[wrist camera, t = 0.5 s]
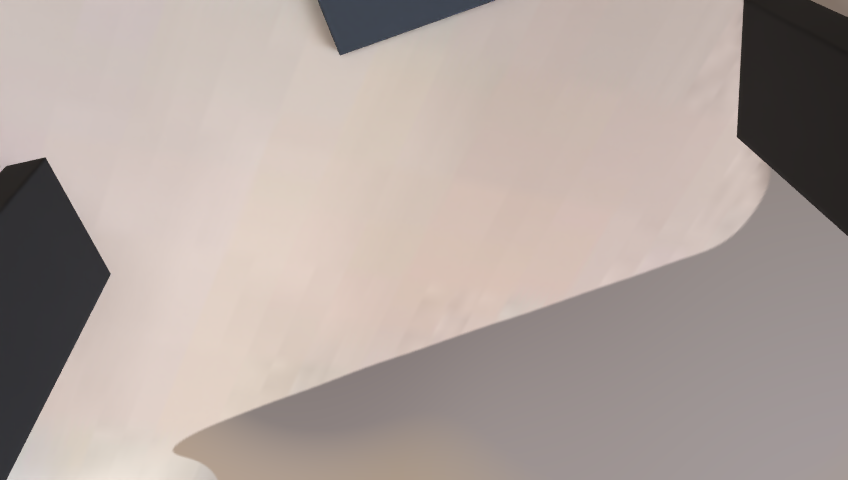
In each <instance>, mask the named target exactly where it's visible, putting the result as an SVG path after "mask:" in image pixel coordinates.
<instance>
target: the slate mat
mask: <svg viewBox="0 0 848 480" xmlns="http://www.w3.org/2000/svg"><path fill="white" fill-rule="evenodd" d="M492 1H494V0H318V2H319V5H320V7H321V10H322V12H323V15H324V17H325V20H326V22H327V25H328V27H329V30H330V32H331V35H332V37H333V40H334V42H335V45H336V47H337V49H338V52H339V54H340V55H343V54H345V53H348V52H351V51H354V50H357V49H360V48H362V47H365V46H368V45H371V44H374V43H376V42H379V41H382V40H385V39H388V38H390V37H393V36H396V35H399V34H402V33H404V32H407V31H410V30H413V29H416V28H419V27H421V26H424V25H427V24H430V23H433V22H435V21H438V20H441V19H444V18H447V17H449V16H452V15H455V14H458V13H461V12H464V11H466V10H469V9H472V8H475V7H478V6H480V5H483V4H486V3H489V2H492Z"/></svg>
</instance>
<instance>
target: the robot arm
mask: <svg viewBox="0 0 848 480" xmlns="http://www.w3.org/2000/svg"><path fill="white" fill-rule="evenodd" d="M737 137H738V138H739V139H740V140H741V141H742V142H743V143H744V144H745V145H747V146H748V147H749V148H750V149H751V150H752V151H753V152H754V153H756V154H757V155H758V156H759V157H760V158H761V159H762V160H763V161H764V162H766V163H767V164H768V165H769V166H770V167H771V168H772V169H774V170H775V171H776V172H777V173H778V174H779V175H780V176H781V177H782V178H783V179H785V180H786V181H787V182H788V183H789V184H790V185H791V186H792V187H794V188H795V189H796V190H797V191H798V192H799V193H800V194H801V195H803V196H804V197H805V198H806V199H807V200H808V201H809V202H810V203H811V204H813V205H814V206H815V207H816V208H817V209H818V210H819V211H820V212H822V213H823V214H824V215H825V216H826V217H827V218H828V219H829V220H830V221H832V222H833V223H834V224H835V225H836V226H837V227H838V228H839V229H841V230H842V231H843V232H844V233H845V234H846V235H847V236H848V17H846V16H844V15H841V14H839V13H837V12H835V11H833V10H830V9H828V8H826V7H824V6H822V5H819V4H817V3H815V2H813V1H811V0H744V8H743V27H742V47H741V66H740V86H739V106H738V125H737ZM109 276H110V272H109V270H108V268H107V267H106V265H105V263H104V261H103V259H102V258H101V256H100V254H99V252H98V250H97V249H96V247H95V245H94V243H93V242H92V240H91V238H90V236H89V234H88V233H87V231H86V229H85V227H84V225H83V224H82V222H81V220H80V218H79V217H78V215H77V213H76V211H75V209H74V208H73V206H72V204H71V202H70V200H69V199H68V197H67V195H66V193H65V192H64V190H63V188H62V186H61V184H60V183H59V181H58V179H57V177H56V175H55V174H54V172H53V170H52V168H51V167H50V165H49V163H48V161H47V159H46V158H41V159H36V160H32V161H27V162H23V163H19V164H14V165H10V166H6V167H5V168H4V169H3V170H2V171H1V172H0V480H7V478H8V476H9V474H10V472H11V470H12V468H13V466H14V464H15V462H16V460H17V458H18V456H19V454H20V452H21V450H22V448H23V446H24V444H25V442H26V440H27V438H28V436H29V434H30V432H31V430H32V428H33V426H34V424H35V422H36V420H37V418H38V416H39V414H40V412H41V411H42V409H43V407H44V405H45V403H46V401H47V399H48V397H49V395H50V393H51V391H52V389H53V387H54V385H55V383H56V381H57V379H58V377H59V375H60V373H61V371H62V369H63V367H64V365H65V363H66V361H67V359H68V357H69V355H70V353H71V351H72V349H73V347H74V345H75V343H76V341H77V340H78V338H79V336H80V334H81V332H82V330H83V328H84V326H85V324H86V322H87V320H88V318H89V316H90V314H91V312H92V310H93V308H94V306H95V304H96V302H97V300H98V298H99V296H100V294H101V292H102V290H103V288H104V286H105V284H106V282H107V280H108V278H109Z"/></svg>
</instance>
